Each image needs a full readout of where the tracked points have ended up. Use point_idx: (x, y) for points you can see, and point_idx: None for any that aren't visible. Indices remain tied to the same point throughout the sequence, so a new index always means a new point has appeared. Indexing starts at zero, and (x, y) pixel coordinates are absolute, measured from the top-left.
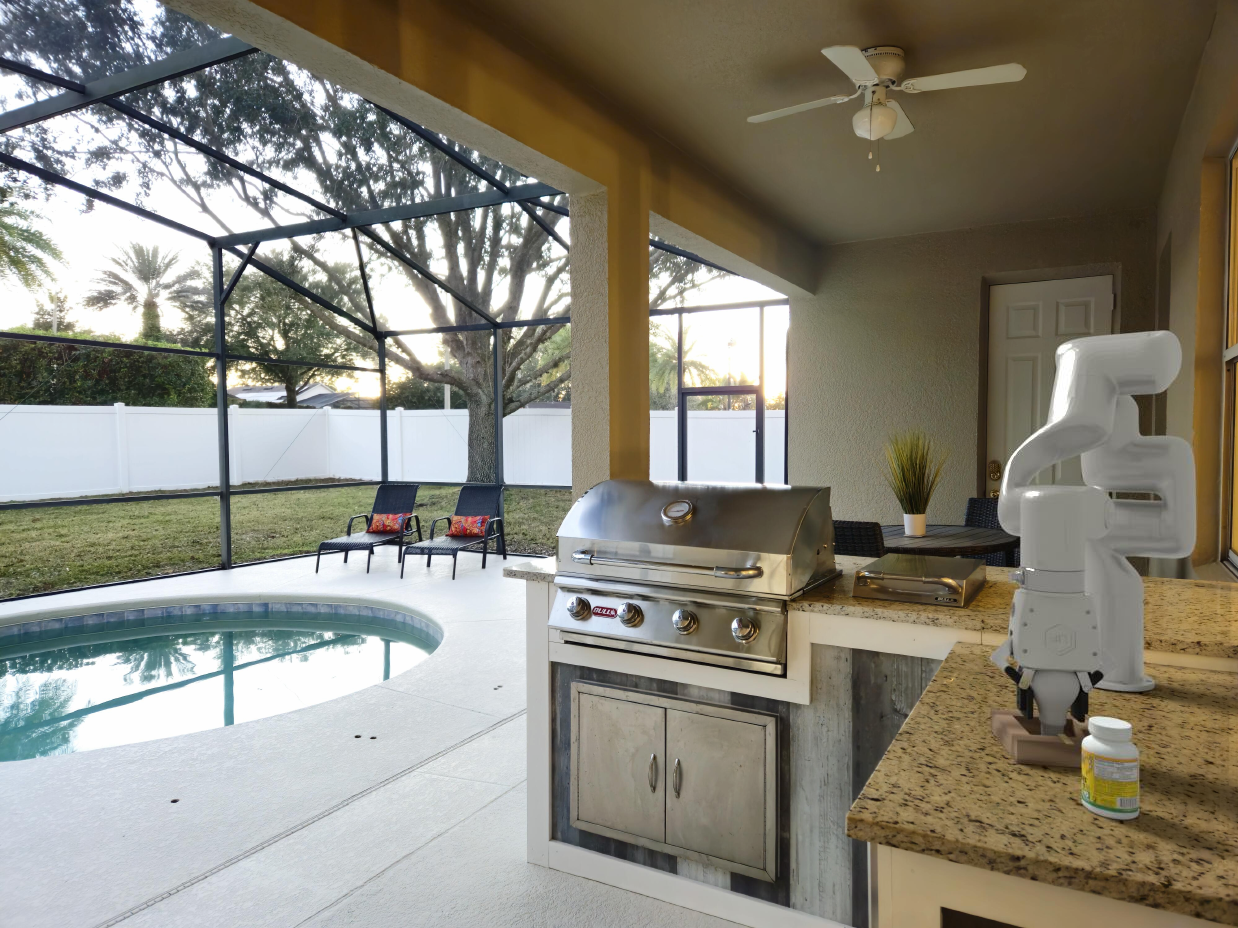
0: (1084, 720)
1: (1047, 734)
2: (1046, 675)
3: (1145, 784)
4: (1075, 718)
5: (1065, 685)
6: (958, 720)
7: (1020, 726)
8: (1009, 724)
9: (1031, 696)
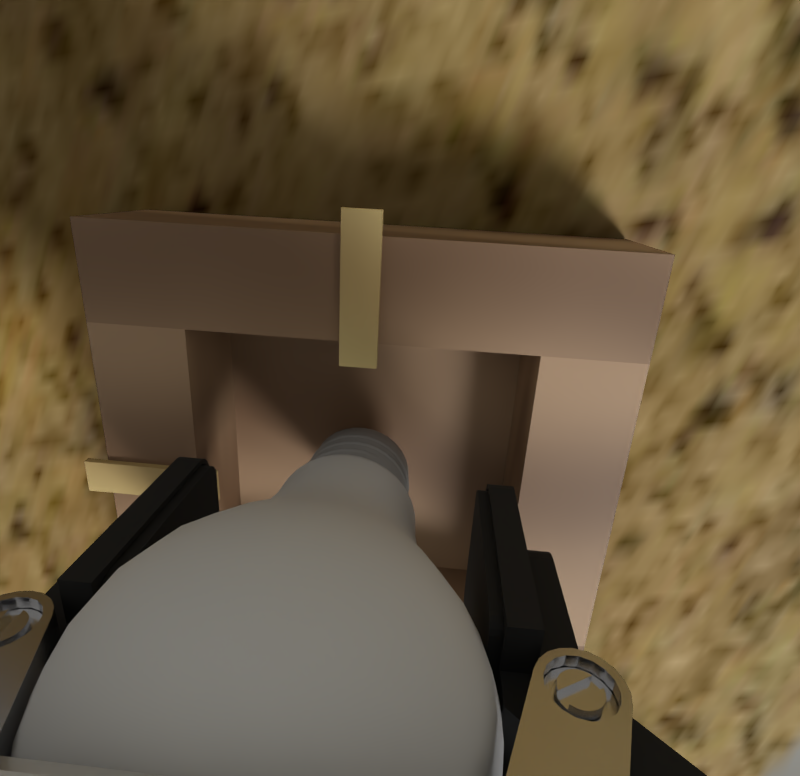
0: (179, 458)
1: (393, 451)
2: (377, 731)
3: (88, 27)
4: (217, 509)
5: (207, 578)
6: (635, 717)
7: (533, 483)
8: (581, 509)
9: (504, 584)
